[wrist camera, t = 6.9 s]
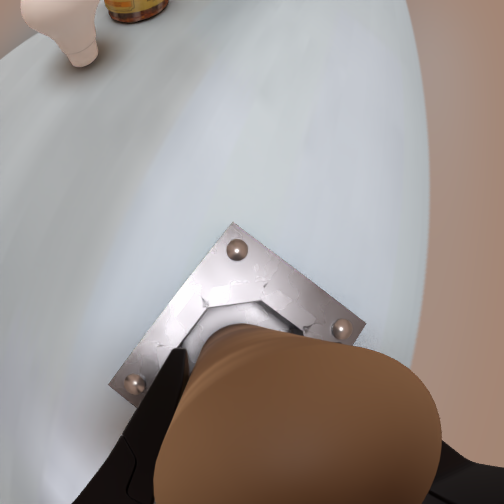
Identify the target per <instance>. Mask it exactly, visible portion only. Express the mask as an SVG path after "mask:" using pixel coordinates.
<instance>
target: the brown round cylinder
mask: <svg viewBox="0 0 504 504" xmlns="http://www.w3.org/2000/svg"><path fill="white" fill-rule="evenodd" d="M441 446H442V432H441V424H440V418H439V414H438V411H437V408H436V405H435V402H434V400H433V398H432V396H431V394H430V392H429V391H428V389H427V388H426V387H425V385H424V384H423V383H422V381H421V380H420V379H419V378H418V377H417V376H416V375H415V374H414V373H413V372H412V371H411V370H410V369H409V368H407V367H406V366H404V365H403V364H401V363H400V362H398V361H397V360H395V359H393V358H391V357H388V356H386V355H384V354H382V353H379V352H376V351H372V350H369V349H366V348H361V347H356V346H350V345H345V344H340V343H335V342H329V341H324V340H319V339H315V338H310V337H305V336H300V335H296V334H291V333H286V332H282V331H277V330H273V329H269V328H264V327H260V326H256V325H251V324H245V323H239V324H232V325H228V326H225V327H223V328H221V329H219V330H217V331H216V332H215V333H213V334H212V335H211V336H210V337H209V338H208V339H207V341H206V342H205V344H204V345H203V347H202V349H201V352H200V354H199V356H198V359H197V361H196V364H195V366H194V368H193V371H192V373H191V376H190V378H189V380H188V383H187V385H186V387H185V390H184V392H183V395H182V397H181V399H180V402H179V404H178V407H177V409H176V411H175V414H174V416H173V419H172V421H171V424H170V426H169V428H168V431H167V433H166V436H165V438H164V440H163V443H162V445H161V448H160V451H159V454H158V457H157V460H156V465H155V471H154V478H153V482H154V497H155V502H156V504H422V502H423V501H424V499H425V497H426V495H427V493H428V491H429V490H430V487H431V485H432V483H433V480H434V478H435V475H436V472H437V468H438V464H439V461H440V454H441Z"/></svg>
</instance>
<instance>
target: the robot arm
mask: <svg viewBox="0 0 504 504" xmlns="http://www.w3.org/2000/svg"><path fill="white" fill-rule="evenodd" d="M335 343H340V344H342V343H341V342H335ZM188 380H189V363H188V355H187V350H186V348H173V349H172V350H171V352H170V353H169V355H168V357H167V358H166V360H165V362H164V363H163V365H162V367H161V368H160V370H159V372H158V374H157V375H156V377H155V379H154V380H153V382H152V384H151V385H150V387H149V389H148V390H147V392H146V394H145V396H144V397H143V399H142V401H141V402H140V404H139V406H138V407H137V409H136V411H135V413H134V414H133V416H132V418H131V419H130V421H129V423H128V425H127V426H126V428H125V430H124V431H123V433H122V434H123V435H121V436H120V438H119V440H118V442H117V443H116V445H115V447H114V448H113V450H112V451H111V453H110V455H109V456H108V458H107V459H106V461H105V462H104V463H103V465H102V466H101V468H100V469H99V470H98V472H97V473H96V474H95V475H94V477H93V478H92V479H91V481H90V482H89V483H88V484H87V486H86V487H85V488H84V490H83V491H82V492H81V493H80V495H79V496H78V497H77V498H76V499H75V501H74V502H73V503H72V504H156V502H155V497H154V482H153V478H154V471H155V465H156V460H157V457H158V454H159V451H160V448H161V445H162V443H163V440H164V438H165V436H166V433H167V431H168V428H169V426H170V424H171V421H172V419H173V416H174V414H175V411H176V409H177V407H178V404H179V402H180V399H181V397H182V395H183V392H184V390H185V387H186V385H187V383H188ZM422 504H504V468H502V467H495V466H490V465H484V464H479V463H475V462H472V461H470V460H468V459H466V458H464V457H463V456H462V455H460V454H459V453H458V452H456V451H455V450H454V449H452V448H451V447H450V446H449V445H448V444H446V443H445V442H444V441H442V446H441V454H440V461H439V464H438V468H437V472H436V475H435V478H434V480H433V483H432V485H431V487H430V490H429V491H428V493H427V495H426V497H425V499H424V501H423V502H422Z"/></svg>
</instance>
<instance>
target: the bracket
mask: <svg viewBox="0 0 504 504" xmlns="http://www.w3.org/2000/svg"><path fill="white" fill-rule="evenodd" d="M239 323H245V324H251V325H256V326H260V327H264V328H269V329H273V330H277V331H282V332H286V333H291V334H296V335H300V336H305V337H310V338H315V339H319V340H324V341H329V342H341V343H342V344H345V345H350V346H352V345H353V344H354V342H355V341H356V339H357V338H358V336H359V334H360V333H361V331H362V330H363V328H364V326H365V325H366V323H365V322H364V321H363V320H361V319H360V318H359V317H357V316H356V315H355V314H354V313H352V312H351V311H350V310H348V309H347V308H346V307H344V306H343V305H342V304H341V303H339V302H338V301H337V300H335V299H334V298H333V297H331V296H330V295H329V294H328V293H326V292H325V291H324V290H322V289H321V288H320V287H318V286H317V285H316V284H314V283H313V282H312V281H311V280H309V279H308V278H307V277H305V276H304V275H303V274H301V273H300V272H299V271H297V270H296V269H295V268H293V267H292V266H291V265H290V264H288V263H287V262H286V261H284V260H283V259H282V258H280V257H279V256H278V255H276V254H275V253H274V252H272V251H271V250H270V249H268V248H267V247H266V246H264V245H263V244H262V243H260V242H259V241H258V240H256V239H255V238H254V237H252V236H251V235H250V234H248V233H247V232H246V231H245V230H243V229H242V228H241V227H239V226H238V225H237V224H235V223H234V222H232V224H231V225H230V226H229V227H228V229H227V230H226V231H225V232H224V234H223V235H222V236H221V237H220V239H219V240H218V241H217V242H216V244H215V245H214V246H213V247H212V249H211V250H210V251H209V252H208V254H207V255H206V256H205V258H204V259H203V260H202V261H201V263H200V264H199V265H198V266H197V268H196V269H195V270H194V272H193V273H192V274H191V275H190V277H189V278H188V279H187V280H186V282H185V283H184V284H183V286H182V287H181V288H180V290H179V291H178V292H177V293H176V295H175V296H174V297H173V299H172V300H171V301H170V303H169V304H168V305H167V306H166V308H165V309H164V310H163V312H162V313H161V314H160V316H159V317H158V318H157V320H156V321H155V322H154V324H153V325H152V326H151V327H150V329H149V330H148V331H147V333H146V334H145V335H144V337H143V338H142V339H141V341H140V342H139V343H138V345H137V346H136V348H135V349H134V350H133V352H132V353H131V354H130V356H129V357H128V358H127V360H126V361H125V362H124V364H123V365H122V366H121V368H120V369H119V371H118V372H117V373H116V375H115V376H114V377H113V379H112V380H111V382H110V383H109V384H108V385H109V386H110V387H112V388H113V389H114V390H115V391H116V392H118V393H119V394H120V395H121V396H122V397H124V398H125V399H126V400H127V401H129V402H130V403H131V404H132V405H134V406H135V407H136V408H137V407H138V406H139V404H140V402H141V401H142V399H143V397H144V396H145V394H146V392H147V390H148V389H149V387H150V385H151V384H152V382H153V380H154V379H155V377H156V375H157V374H158V372H159V370H160V368H161V367H162V365H163V363H164V362H165V360H166V358H167V357H168V355H169V353H170V352H171V350H172V349H173V348H186V350H187V355H188V363H189V378H190V376H191V373H192V371H193V368H194V366H195V364H196V361H197V359H198V356H199V354H200V352H201V349H202V347H203V345H204V344H205V342H206V341H207V339H208V338H209V337H210V336H211V335H212V334H213V333H215V332H216V331H217V330H219V329H221V328H223V327H225V326H228V325H232V324H239Z"/></svg>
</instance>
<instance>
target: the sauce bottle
mask: <svg viewBox="0 0 504 504" xmlns="http://www.w3.org/2000/svg"><path fill="white" fill-rule="evenodd" d="M168 1H169V0H104V2H105V6H106V7H107V9H108V10H109V14H110V16H111V18H112V19H115V20H117V21H121V22H126V23H133V22H137V21H139V20H144V19H148V18H150V17H152V16H154V15H156V14H158V13H159V12H160V11H161V10H163V9H164V8H165V7H166V6H167V4H168Z"/></svg>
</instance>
